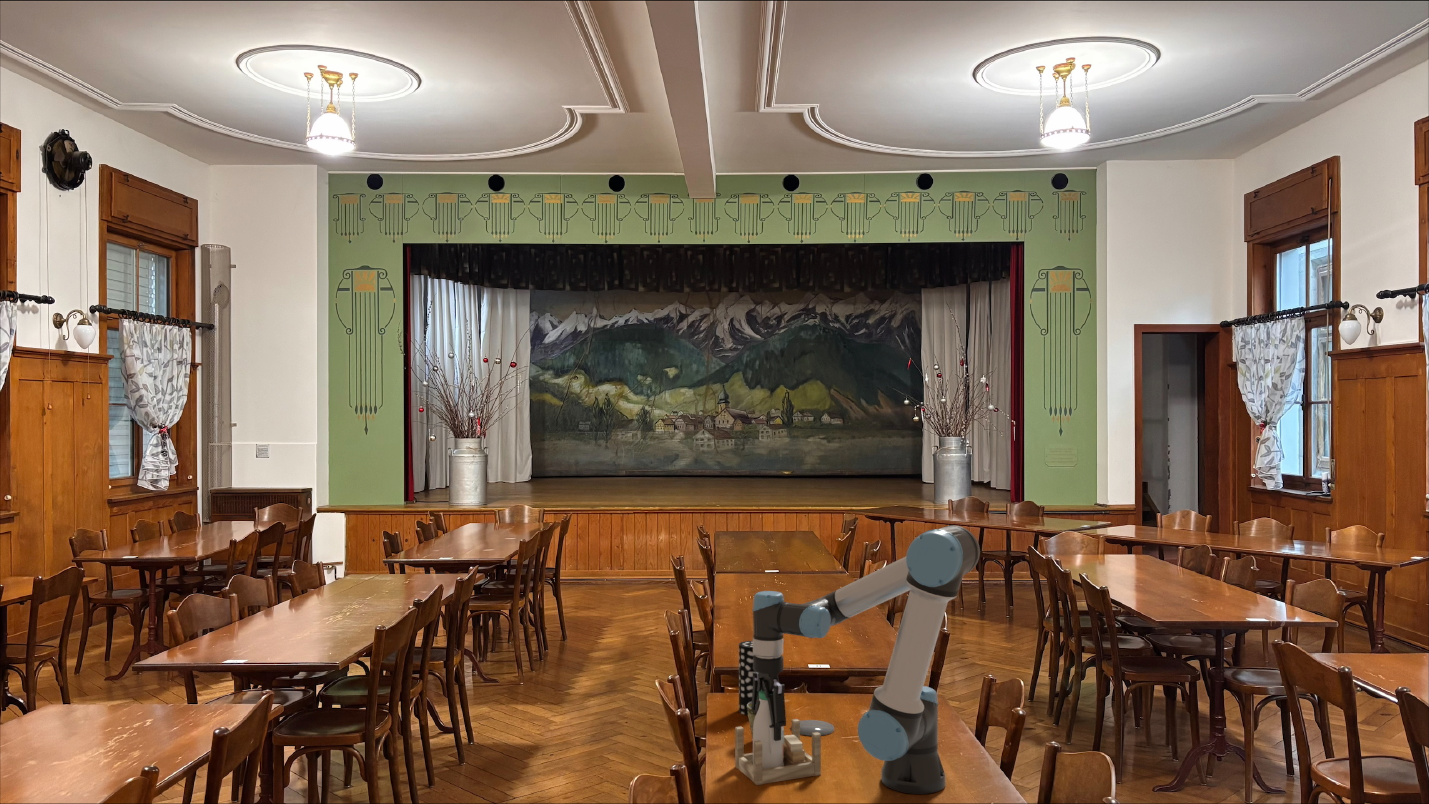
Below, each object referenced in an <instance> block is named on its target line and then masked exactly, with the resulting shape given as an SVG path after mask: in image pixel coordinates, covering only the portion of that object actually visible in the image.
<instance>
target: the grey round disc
mask: <svg viewBox="0 0 1429 804" xmlns="http://www.w3.org/2000/svg"><path fill="white" fill-rule="evenodd" d="M790 729H791V730H792V725H791V728H790ZM815 732H818V733H820V734H821V737H823V736H827V735H831V734H832V733H833V732H835V727H834V724H832V723H830V722H827V721H825V720H824V721H823V720H816V719H806V720H800V736H801V735H802V736H807V737H812V733H815Z"/></svg>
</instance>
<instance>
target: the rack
mask: <svg viewBox="0 0 1429 804" xmlns="http://www.w3.org/2000/svg"><path fill="white" fill-rule="evenodd" d="M800 721H801V720H800V719H798V718H793V719H791V726H792V729H791V735H795V736H796V737H797V738H798V739H799V740H800V741H801V734H800ZM734 731H735V733H734V735H735V739H734V741H735V746H734V747H735V748H734V751H735V752H734V753H735V754H734V756H735V757H734V758H735V759H734V761H735V762H734V765H735V766H734V767H735V768H736V770H738V771H740V772H741V773H742V774H744V776H746V777H747V778H749V780H750V781H752V783H753V784H755V785H756V786H761V785H764V784H771V783H776V782H777V783H778V782H782V781H789V780H795V779H802V778H808V777H813V776H814V777H816V776H821V775H822V757H821V756H822V754H821V753H822V749H821V747H822V736H821V734H820V733H818V732H815V733H812V736H811V754H808V752H806V751H805V761H806V763H800V764H794V765H787V766H781V767H774V768H768V769H762V742H761V741H760V740H758V741H754V765H753V752H750V753H749V752H748V753H745V751H744V748H745V746H744V742H745V740H744V739H745V737H744V736H745V735H744V734H745V733H744V727H742V726H741V725H740V726H735V727H734Z"/></svg>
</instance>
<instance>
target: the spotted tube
mask: <svg viewBox="0 0 1429 804" xmlns="http://www.w3.org/2000/svg"><path fill="white" fill-rule="evenodd" d="M754 655H755V654H754V653H753V640H747V641H746V640H745V641H741V642H739V643H738V712H739V713H740V714H741V715H746V716H748V711H747V704H748V703H750V702H752V692H753V673H754V672H755V671H754V669H753V656H754Z"/></svg>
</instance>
